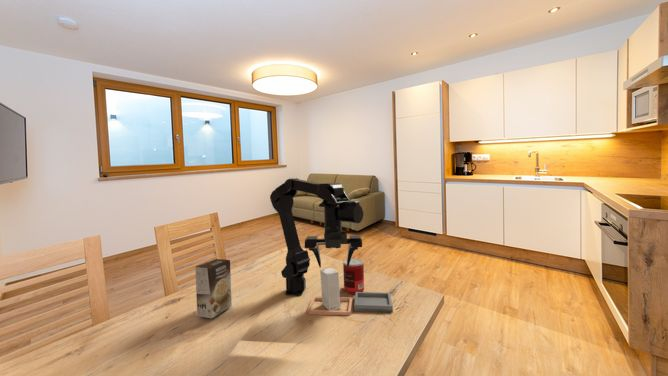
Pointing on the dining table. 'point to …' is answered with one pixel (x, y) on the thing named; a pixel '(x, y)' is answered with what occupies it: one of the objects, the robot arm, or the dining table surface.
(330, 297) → the skincare box
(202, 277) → the coffee box
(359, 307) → the tray
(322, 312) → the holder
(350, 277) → the canned food
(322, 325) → the dining table surface
